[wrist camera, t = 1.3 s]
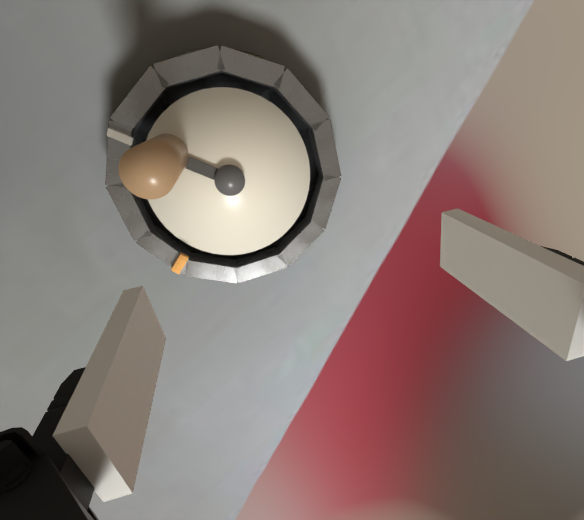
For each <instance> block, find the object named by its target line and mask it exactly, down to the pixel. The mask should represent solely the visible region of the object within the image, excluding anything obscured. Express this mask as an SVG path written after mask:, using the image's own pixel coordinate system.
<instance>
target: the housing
mask: <svg viewBox="0 0 584 520" xmlns="http://www.w3.org/2000/svg"><path fill="white" fill-rule="evenodd" d="M153 65H154V67H152V66H150V67H149V68H148V69H147V71H146V72H145V73H144V74H143V76H142V77H141V78H140V80H139V81H138V82H137V83H136V85H135V86H134V87H133V88H132V89H131V90H130V92H129V94H128V95H127V96H126V98H125V99H124V100H123V101H122V103H121V104H120V105H119V107H118V108H117V109H116V111H115V112H114V113H113V114H112V116H111V117H110V118H111V119H112V120H111V121H109V126H108V131H107V135H106V136H108V144H107V162H106V180H105V184H106V185H108V186H107V187H106V188H107V190H108V192H109V194H110V196H111V198H112V200H113V202H114V204H115V205H116V207H117V209H118V211H119V213H120V215H121V217H122V219H123V221H124V223H125V225H126V226H127V228H128V230H129V232H130V234H131V236H132V238H133V240H134V241H135V240H137V242H136V243H137V244H138V245H140V246H141V247H143V248H144V249H146V250H147V251H149V252H150V253H151V254H153V255H154V256H156V257H157V258H159V259H160V260H162V261H163V262H164V263H166V264H167V265H169V266H170V267H172V268H171V270H172V271H174V272H176V273H178V274H179V273H180V274H183V273H184V272H185V276H191V277H197V278H204V279H211V280H218V281H225V282H232V283H237V279H238V282H239V283H240V282H243V281H247V280H250V279H253V278H256V277H259V276H262V275H265V274H268V273H271V272H274V271H277V270H280V269H284V268H287V267H286V264H287V265H288V266H289V265H290V264H291V263H292V262H293V261H294V260H295V259H296V258H297V257H298V256H299V255H300V254H301V253H302V252H303V251H304V250H305V249H306V248H307V247H308V246H309V245H310V244H311V243H312V242H313V241H314V240H315V239H316V238H317V237H318V236H319V235H320V234H321V233H322V232H323V231H324V230H323V229H322V228H324V229H325V228H326V225H327V222H328V219H329V216H330V212H331V209H332V206H333V203H334V199H335V196H336V193H337V190H338V187H339V183H340V180H341V178H340V177H339V176H341V172H340V167H339V162H338V157H337V152H336V147H335V141H334V136H333V131H332V126H331V121H330V119H327V118H328V117H329V116H328V115H327V114H326V112H325V111H324V110H323V109H322V108H321V107H320V105H319V104H318V103H317V102H316V101H315V100H314V98H313V97H312V96H311V95H310V93H309V92H308V91H307V90H306V88H305V87H304V86H303V85H302V84H301V83H300V82H299V81H298V80H297V78H296V77H295V76H294V75H293V74H292V73H291V71H290V70H289V69H288V68H287V69H285V70H284V68H285V66H283V65H280V64H277V63H274V62H271V61H269V60H267V59H265V58H262V57H260V56H258V55H255V54H253V53H249V52H245V51H241V50H237V49H231V48H228V47H225V46H222V45H221V48H219V47H218V45H217V46H213V47H210V48H205V49H198V50H194V51H189V52H185V53H182V54H180V55H177V56H174V57H172V58H169V59H168V60H165V61H161V62H158V63H154V64H153ZM214 87H229V88H237V89H242V90H245V91H249V92H252V93H254V94H256V95H259V96H261V97H263V98H265V99H266V100H268V101H270V102H271V103H273V104H274V105H275V106H276V107H278V108H279V109H280V110H281V111H282V112H283V113H284V114H285V115H286V116H287V117H288V118H289V119H290V120H291V122H292V123H293V124H294V126H295V127H296V128H297V130H298V132H299V134H300V136H301V137H302V140H303V142H304V145H305V147H306V151H307V154H308V158H309V166H310V184H309V191H308V195H307V199H306V202H305V204H304V207H303V209H302V211H301V213H300V215H299V217H298V218H297V220H296V221H295V223H294V224H293V225H292V227H291V228H290V229H289V230H288V231H287V232H286V233H285V234H284V235H283V236H281V237H280V238H279V239H278V240H276V241H275V242H273V243H272V244H270V245H268V246H266V247H264V248H262V249H259V250H256V251H254V252H250V253H245V254H239V255H220V254H213V253H209V252H205V251H202V250H199V249H197V248H194V247H192V246H190V245H188V244H187V243H185V242H183V241H182V240H180V239H179V238H177V237H176V236H175V235H173V234H172V233H171V232H170V231H169V230H168V229H167V228H166V227H165V226H164V225H163V224H162V222H161V221H160V220H159V219H158V217H157V216H156V214H155V213H154V211H153V209H152V207H151V205H150V203H149V201H148V199H143V198H140V197H138V196H136V195H134V194H132V193H131V192H130V191H129V190H128V189H127V188H126V187H125V186H124V184H123V183H122V181H121V179H120V176H119V162H120V159H121V157H122V155H123V154H124V153H125V152H126V151H127V150H129V149H130V148H132V147H134V146H136V145H138V144H141V143H143V142H145V141H146V140H147V137H148V134H149V132H150V130H151V129H152V127H153V125H154V123H155V122H156V120H157V119H158V118H159V117H160V115H161V114H162V113H163V112H164V111H165V110H166V109H167V108H168V107H169V106H170V105H172V104H173V103H174V102H176V101H177V100H179V99H180V98H182V97H184V96H186V95H188V94H190V93H193V92H196V91H199V90H202V89H208V88H214Z"/></svg>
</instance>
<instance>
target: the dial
mask: <svg viewBox="0 0 584 520" xmlns="http://www.w3.org/2000/svg"><path fill="white" fill-rule="evenodd" d="M119 176H120V179H121V181H122V183H123V184H124V186H125V187H126V188H127V189H128V190H129V191H130V192H131V193H132V194H134V195H136V196H138V197H140V198H143V199H148V201H149V203H150V205H151V207H152V209H153V211H154V213H155V214H156V216H157V217H158V219H159V220H160V221H161V222H162V224H163V225H164V226H165V227H166V228H167V229H168V230H169V231H170V232H171V233H172V234H173V235H175V236H176V237H177V238H179V239H180V240H182V241H183V242H185V243H187V244H188V245H190V246H192V247H194V248H197V249H199V250H202V251H205V252H209V253H213V254H220V255H239V254H245V253H250V252H254V251H256V250H259V249H262V248H264V247H266V246H268V245H270V244H272V243H273V242H275V241H276V240H278V239H279V238H280V237H281V236H283V235H284V234H285V233H286V232H287V231H288V230H289V229H290V228H291V227H292V225H293V224H294V223H295V221H296V220H297V218H298V217H299V215H300V213H301V211H302V209H303V207H304V204H305V202H306V199H307V195H308V191H309V184H310V166H309V158H308V154H307V151H306V147H305V145H304V142H303V140H302V137H301V136H300V134H299V132H298V130H297V128H296V127H295V126H294V124H293V123H292V122H291V120H290V119H289V118H288V117H287V116H286V115H285V114H284V113H283V112H282V111H281V110H280V109H279V108H278V107H276V106H275V105H274V104H273V103H271V102H270V101H268V100H266V99H265V98H263V97H261V96H259V95H256V94H254V93H252V92H249V91H245V90H242V89H237V88H229V87H214V88H208V89H202V90H199V91H196V92H193V93H190V94H188V95H186V96H184V97H182V98H180V99H179V100H177V101H176V102H174V103H173V104H172V105H170V106H169V107H168V108H167V109H166V110H165V111H164V112H163V113H162V114H161V115H160V117H159V118H158V119H157V120H156V122H155V123H154V125H153V127H152V129H151V130H150V132H149V134H148V137H147V140H146V141H145V142H143V143H141V144H138V145H136V146H134V147H132V148H130V149H129V150H127V151H126V152H125V153H124V154H123V155H122V157H121V159H120V162H119Z"/></svg>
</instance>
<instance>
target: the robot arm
mask: <svg viewBox="0 0 584 520" xmlns="http://www.w3.org/2000/svg"><path fill="white" fill-rule="evenodd" d="M441 223H442V224H441V253H440V254H441V255H440V267H442V268H443V269H444V270H446V271H447V272H448V273H450V274H451V275H452V276H454V277H455V278H456V279H458V280H459V281H460V282H462V283H463V284H464V285H466V286H467V287H468V288H470V289H471V290H472V291H474V292H475V293H476V294H478V295H479V296H480V297H482V298H483V299H484V300H486V301H487V302H488V303H490V304H491V305H492V306H494V307H495V308H496V309H498V310H499V311H500V312H502V313H503V314H504V315H506V316H507V317H508V318H510V319H511V320H512V321H514V322H515V323H516V324H518V325H519V326H520V327H522V328H523V329H524V330H526V331H527V332H528V333H530V334H531V335H532V336H534V337H535V338H536V339H538V340H539V341H540V342H542V343H543V344H544V345H546V346H547V347H548V348H550V349H551V350H552V351H554V352H555V353H556V354H558V355H559V356H560V357H562V358H563V359H564V360H566V361H569V360H572V359H575V358H578V357H582V356H584V262H583V261H581V260H578V259H576V258H572V256H569V255H567V254H565V253H562V252H560V251H558V250H555V249H550V248H546V247H542V246H539V245H536V244H534V243H532V242H530V241H528V240H526V239H523V238H521V237H519V236H517V235H515V234H512V233H510V232H508V231H506V230H503V229H501V228H499V227H497V226H494V225H493V224H490V223H488V222H486V221H483V220H482V219H479V218H477V217H475V216H473V215H470V214H468V213H466V212H464V211H461V210H459V209H454V210H450V211H446V212H442V221H441ZM165 340H166V337H165V335H164V333H163V331H162V328H161V326H160V324H159V321H158V319H157V317H156V315H155V312H154V310H153V308H152V306H151V303H150V301H149V299H148V296H147V294H146V292H145V290H144V287H143V286H140V287H136V288H132V289H128V290H124V291H123V293H122V295H121V297H120V299H119V301H118V303H117V305H116V307H115V309H114V311H113V313H112V315H111V317H110V319H109V321H108V323H107V325H106V327H105V330H104V332H103V334H102V336H101V338H100V340H99V342H98V344H97V346H96V348H95V350H94V352H93V354H92V356H91V358H90V360H89V362H88V364H87V366H86V367H85V368H81V369H77V370H74V371H73V372H72V373H71V374H70V375H69V376H68V377H67V378H66V380H65V381H64V382H63V383H62V384H61V385H60V387H59V389H58V391H57V393H56V394H55V396H54V400H53V401H52V402H51V404H50V405H49V407H48V409H47V410H48V412H46V413H45V414H44V416H43V418H42V420H41V422H40V424H39V425H38V427H37V429H36V431H35V433H34V435H33V436H31V435H30V433H29V432H28V431H27V430H25V429H24V428H22V427H20V428H11V429H8V430H5V431H2V432H0V520H98V518H97V517H96V515H95V514H94V512H93V511H92V510H91V509H90V507H89V504H90V501H91V498H92V494H93V491H95V492H96V493H97V494H98V496H99V497H100V498H101V500H102V501H103V502H106V501H109V500H112V499H115V498H119V497H122V496H125V495H129V494H132V493H133V489H134V484H135V480H136V475H137V470H138V466H139V461H140V457H141V452H142V447H143V443H144V438H145V433H146V429H147V424H148V419H149V415H150V410H151V405H152V401H153V396H154V391H155V387H156V382H157V378H158V373H159V368H160V364H161V359H162V354H163V350H164V345H165Z"/></svg>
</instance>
